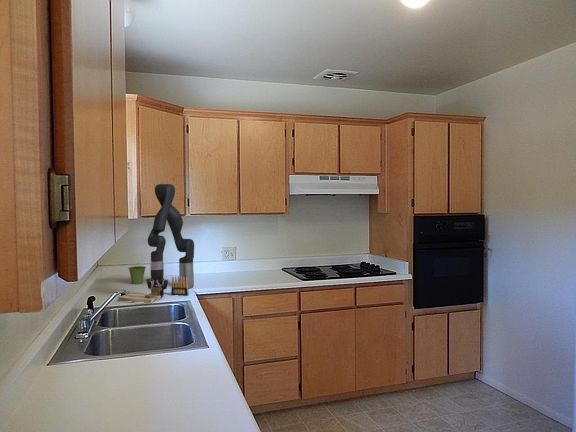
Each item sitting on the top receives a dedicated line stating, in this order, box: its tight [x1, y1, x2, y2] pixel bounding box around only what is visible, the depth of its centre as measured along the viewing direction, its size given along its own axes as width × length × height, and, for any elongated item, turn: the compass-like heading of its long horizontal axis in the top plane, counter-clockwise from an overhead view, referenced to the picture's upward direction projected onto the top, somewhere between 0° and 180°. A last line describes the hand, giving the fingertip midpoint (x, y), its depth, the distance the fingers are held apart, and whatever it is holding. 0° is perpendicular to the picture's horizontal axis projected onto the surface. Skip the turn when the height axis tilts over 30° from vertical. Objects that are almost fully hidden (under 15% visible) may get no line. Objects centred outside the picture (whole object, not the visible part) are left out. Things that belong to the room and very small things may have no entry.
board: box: [117, 293, 162, 304], centre depth 235 cm, size 10×22×2 cm, turn 74°
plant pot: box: [128, 265, 147, 285], centre depth 283 cm, size 12×12×11 cm
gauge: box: [144, 285, 164, 299], centre depth 236 cm, size 12×5×8 cm, turn 164°
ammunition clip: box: [170, 275, 189, 297], centre depth 248 cm, size 11×2×12 cm, turn 82°
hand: (157, 295), depth 240 cm, fingers closed on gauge, 5 cm apart
